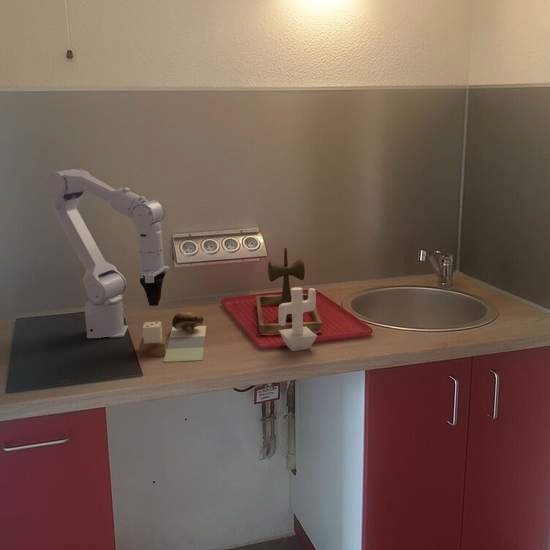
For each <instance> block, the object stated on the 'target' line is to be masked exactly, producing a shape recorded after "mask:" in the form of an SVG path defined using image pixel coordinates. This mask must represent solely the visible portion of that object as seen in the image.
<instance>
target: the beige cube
mask: <svg viewBox="0 0 550 550" xmlns="http://www.w3.org/2000/svg"><path fill="white" fill-rule="evenodd" d="M142 336H143V339H144V343H161V340H162V336H163V326H162V321H145V322H143V325H142Z"/></svg>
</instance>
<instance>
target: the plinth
mask: <svg viewBox="0 0 550 550" xmlns="http://www.w3.org/2000/svg"><path fill="white" fill-rule="evenodd" d="M140 339H141V340H140V342H139V344H138V347H139V350H138V351H139V357H140V358H143V357H144V358H146V357H147V358H148V357H150V358H151V357H165V354H166V350H167V346H168V335H162V340H161V343H144V339H143V335H142V336H141V338H140Z"/></svg>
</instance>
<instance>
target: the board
mask: <svg viewBox="0 0 550 550" xmlns="http://www.w3.org/2000/svg"><path fill="white" fill-rule="evenodd" d="M206 331H207V325H199V326H197V327H195V328H194V332H195V333H186V332H184V331H183V330H182V329H175V328H174V327H173V326H172V328H171V332H170V335H169V339H168V342H167V344H168V346H167V350H166V354H165V356H164V359H163V363H177V362H180V363H181V362H197V361H198V362H199V361H200V362H202V361H203V358H204V349H205V341H206Z"/></svg>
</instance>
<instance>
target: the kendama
mask: <svg viewBox="0 0 550 550" xmlns="http://www.w3.org/2000/svg"><path fill="white" fill-rule="evenodd" d="M283 254H284V255H283V265H281V264H278V263H275V262H273V261H268V263H267V275H268V276H267V277H268V280H269V281H270V282H272V283H273V282H274V281H276V280H277V279H279V278H282V277H283V282H282V283H283V284H282V290H281V291H282V292H281V295H282V297H281V299H280V300H279V301H278V303H279V304H282V303H290V302H291V301H292V296H291V287H290V277H289V276H291V277H294V278H296V279H298V280H300V281H304V280H305V273H306V269H305V263H304V260H303V259H302V258H299V259H297V260H295V261H294V262H293V263H291V264H288V249H287V247H284V252H283ZM277 318H278V319H279V317H278V316H277ZM290 320H291V321H292V314H287V315H286V321H290Z"/></svg>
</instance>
